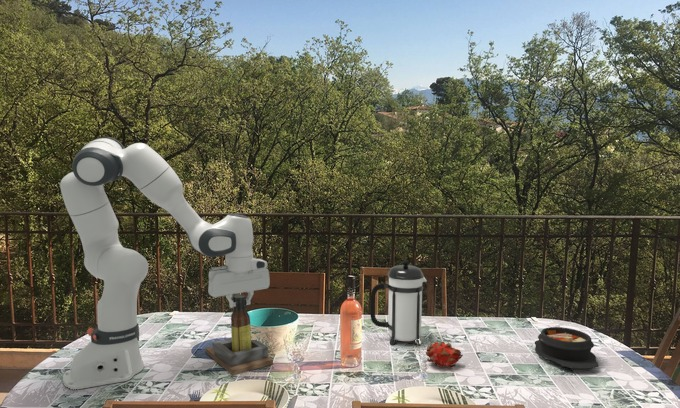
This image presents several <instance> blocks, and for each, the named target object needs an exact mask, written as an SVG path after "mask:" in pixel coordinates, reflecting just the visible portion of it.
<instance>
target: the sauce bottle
mask: <svg viewBox="0 0 680 408" xmlns="http://www.w3.org/2000/svg"><path fill="white" fill-rule="evenodd" d="M246 298H247V295H245V294H244V293H237V294H233V297H232V301H234V302H236V307H233V311H232V313H231V316H230V322H231V323H230V329H231V333H230V335H231V338H232V351H233V353H235V352H239V351H244V350H248V349H251V336H252V335H251V334H252V333H251V331H252V330H251V318H250V315H249V313H248V310H247V305H246Z"/></svg>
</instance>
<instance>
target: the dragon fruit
mask: <svg viewBox="0 0 680 408" xmlns="http://www.w3.org/2000/svg"><path fill="white" fill-rule="evenodd" d="M425 355H426V356H427V357H428V358H427V361H428V363H434V366H436V367H437V366H438V367H439V368H440V369H444V367H448V368H450V369H452V368H455V367H456V364H457V363H458V362H459V361H460V360H461V358H462V357H463V356H464V354H463V353H462V352H461V350H460V349H457V348H454V347H452V343H450V342H448V343H445V341H440V342H437V341H433V343H431V344H429V346H427V347H426V351H425Z"/></svg>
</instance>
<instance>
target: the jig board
mask: <svg viewBox="0 0 680 408" xmlns="http://www.w3.org/2000/svg"><path fill="white" fill-rule="evenodd" d="M257 340H258V339H256V340H251V349H248V350H244V351H239V352H235V353H233V351H232V337H231V338H230V337H229V338H226V339H222V340H217V341H212V346H209V347H206V348H205V353H206V355H208V356H209V357H210V358H212V360H213V361H215V362H216V363H217V364H218V365H219V366H220V367H222V368H223V369H225V370H226V372H228V374H230V375H232V376H235V375H238V374H242V373H246V372H249V371H252V370H253V371H254V370H257V369H260V368H261V369H262V368H264V367H267V366H272V365H274V359H273V358H272V357H270V356H269V347H268V346H267V345H266V344H264V343H262V342H261V341H259V340H258V341H257Z"/></svg>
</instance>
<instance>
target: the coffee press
mask: <svg viewBox="0 0 680 408" xmlns="http://www.w3.org/2000/svg"><path fill="white" fill-rule="evenodd" d="M387 276H388V282H387V283H383V282H382V283H378V284H376V285H375V286H373V287H372V289H371V292H370V312H369V313H370V319H371V322H372V324H374V325H375V326H377V327H378V328H379V327H380V328H387V331H388V333H387V334H388V336H389V337H390V339H389V345H391V346H395V345H396V343H397V342H399V341H401V342H414V343H415V340H416V339H419V338H421V335H422V314H423V312H422V309H423V308H422V307H423V306H422V305H423V304H422V303H423V289H424V286H423V285H424V284H423V283H427V282H428V280H427V279H426V278H425V276H424V273H423V272H422V269H421V268H419V267H418V266H416V265H415V266H414V265H411V264H410V262H409V260H408V259H403V261H402V264H399V265H395V266H392V267H391V268H390V269H389V271H388V272H387ZM383 289H388V306H387V307H388V311H387V313H388V314H387V315H388V319H387V320H388V321H379V320H378V319H377V317H376V294H377V292H378V291H379V290H383Z"/></svg>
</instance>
